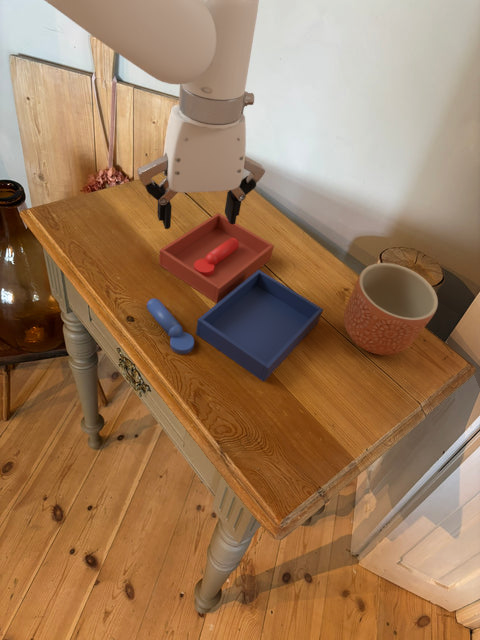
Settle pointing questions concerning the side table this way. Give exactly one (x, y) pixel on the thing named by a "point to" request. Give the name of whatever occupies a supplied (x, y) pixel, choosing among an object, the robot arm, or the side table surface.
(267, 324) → the blue bin
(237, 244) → the red spoon
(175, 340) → the blue spoon
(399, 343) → the planter
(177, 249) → the red bin
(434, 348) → the side table surface
